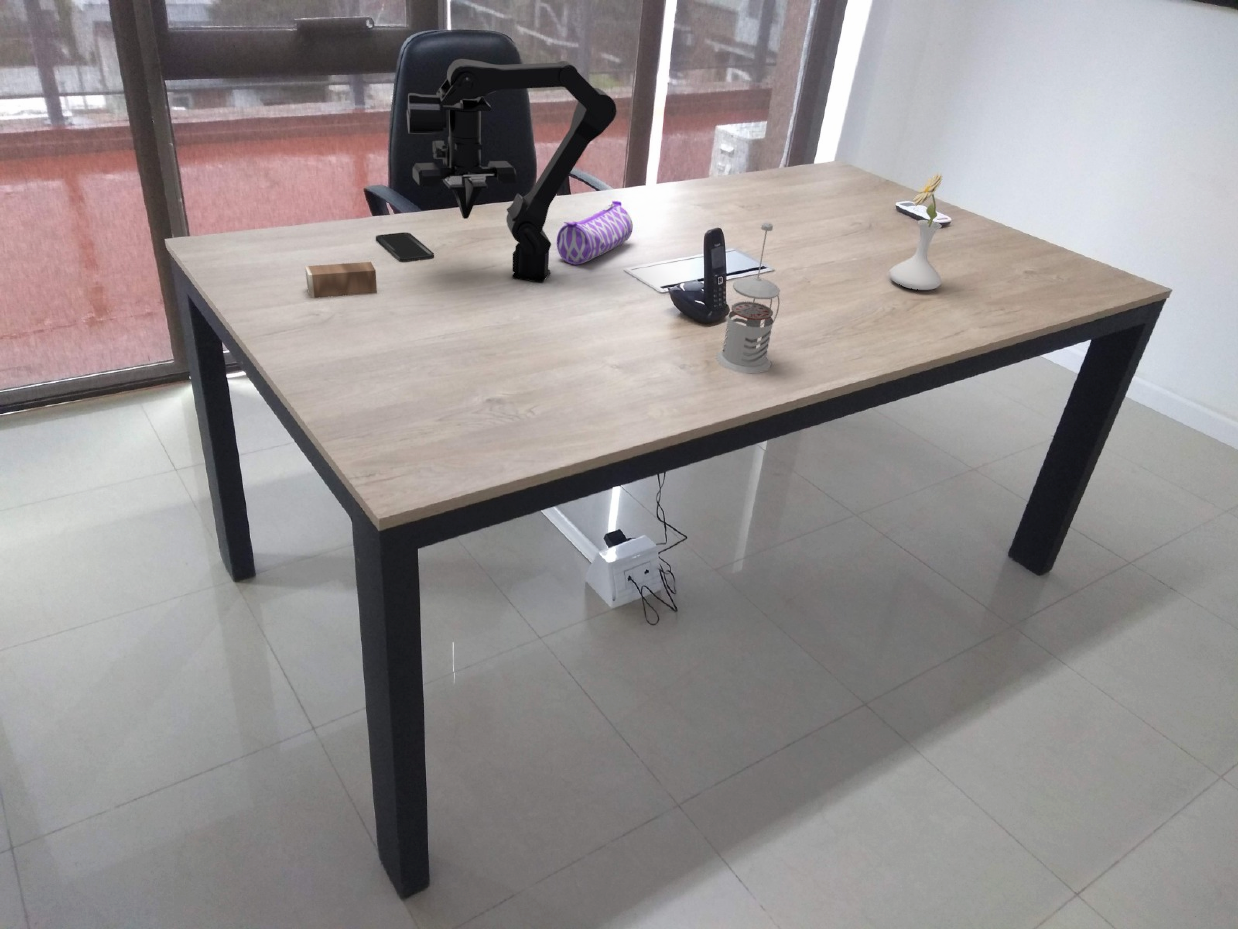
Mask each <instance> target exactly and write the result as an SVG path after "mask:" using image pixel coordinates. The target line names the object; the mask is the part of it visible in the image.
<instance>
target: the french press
mask: <svg viewBox="0 0 1238 929" xmlns="http://www.w3.org/2000/svg"><path fill="white" fill-rule="evenodd" d="M760 229H761V230H763V231H764V232H765V233H764V239H763V245H762V250H761V256H760V259H759V260H760V262H759V266H758V272H757V275H756V276H752V275H751V276H746V277H742V278H738V279H737V280H735V281H733V283H732V289H734V291H735V293H736V294H739V295H741V296H743V297H746V298H750V299H752V300H753V302H752V301H749V300H748V301H746V300H745V301H738V302H735V303H734V304H732V305H731V311H730V312H729V313H728V317H727V323H726V329H725V333H724V334H725V335H724V336H725V337H724V341H723V342H724V343H723V346H722V350H720V351H719V352H718V353H717V354H716V356H715V359H716V361H717V362H718V364H720V365H721V366H722V367H724V368H725V369H728V370H731V371H733V372H735V373H736V372H737V373H742V374H758V373H762V372H767V370H769V369H770V368H771V364H772V363H771V361H770V360H769V358H768V357H767V356H768V349H769V343H770V341H771V340H770V339H771V338H770V337H771V335H772V328H773V325H774V323H775V321H776V318H777V317H778V313H779V309H780V303H781V302H780V293H781V289H780V288H779V287H778V285H777V284H775V283H774V282H772V281H771V280H768V279H767V278H765V277H761V276H760V273H761V267H762V262H763V261H762V260H763V256H764V250H765V245H766V238H767V233H768V232H771V231H773V224H772V223H771V222H769V221H765V222H762V225H761V228H760ZM775 298H777V309H776V313H775V316H774V318H773V317H772V316H773V314H774V311H773V309H772V304H773V299H775ZM755 300H770V304H769V306H767V305H765V304H762V303H759V302H756V301H755ZM736 316H737V317H736ZM733 317H736V318H733ZM738 317H739V318H738ZM732 318H733V319H732ZM761 322H762V323H761ZM740 323H743V324H745V325H743V324H740ZM759 339H760V340H759ZM758 340H759V341H758ZM759 345H760V346H759ZM757 346H759V347H757Z"/></svg>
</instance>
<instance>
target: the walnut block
mask: <svg viewBox="0 0 1238 929" xmlns="http://www.w3.org/2000/svg"><path fill="white" fill-rule="evenodd" d="M304 268H305V278H306V285H307V286H306V288H308V289H307V292H308V291H309V292H308V294H309V297H310V299H318V298H319V297H320V298H331V296H333V297H344V296H345V295H346V296H357V295H368V294H377V293H378V289H377V287H378V286H377V271H376V268H375V267H374V264H372V261H363V262H350V263H349V262H348V263H332V264H331V263H330V264H322V265H321V264H318V265H305V266H304ZM343 295H344V296H343ZM328 296H330V297H328ZM320 298H319V299H320Z"/></svg>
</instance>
